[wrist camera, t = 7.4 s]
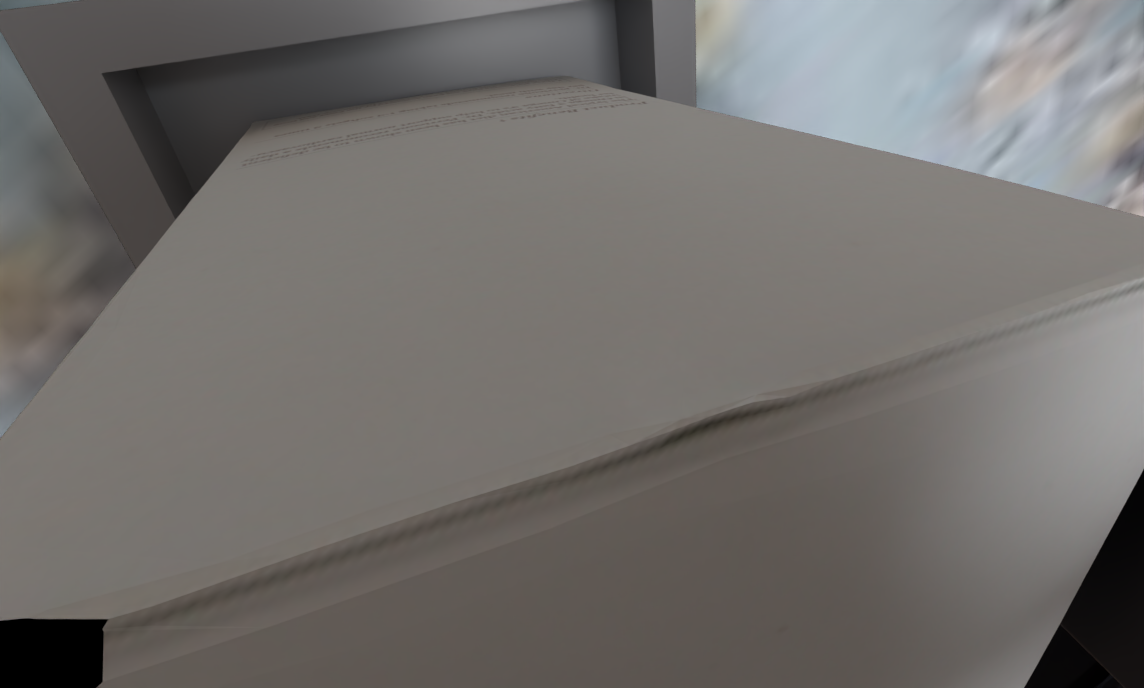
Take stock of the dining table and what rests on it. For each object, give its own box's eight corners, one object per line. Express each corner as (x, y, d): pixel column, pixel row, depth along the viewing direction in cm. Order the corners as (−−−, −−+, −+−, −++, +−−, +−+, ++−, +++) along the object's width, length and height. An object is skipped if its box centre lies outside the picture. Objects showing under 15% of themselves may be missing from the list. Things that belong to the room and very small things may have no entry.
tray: (660, 362, 20) (699, 402, 18) (296, 479, 17) (291, 543, 15) (639, -61, 13) (694, -76, 11) (56, 14, 11) (-11, 11, 9)
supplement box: (348, 401, 16) (358, 1155, 5) (243, 113, 12) (-474, 788, 1) (598, 336, 17) (978, 804, 7) (579, 68, 14) (1348, 224, 3)
